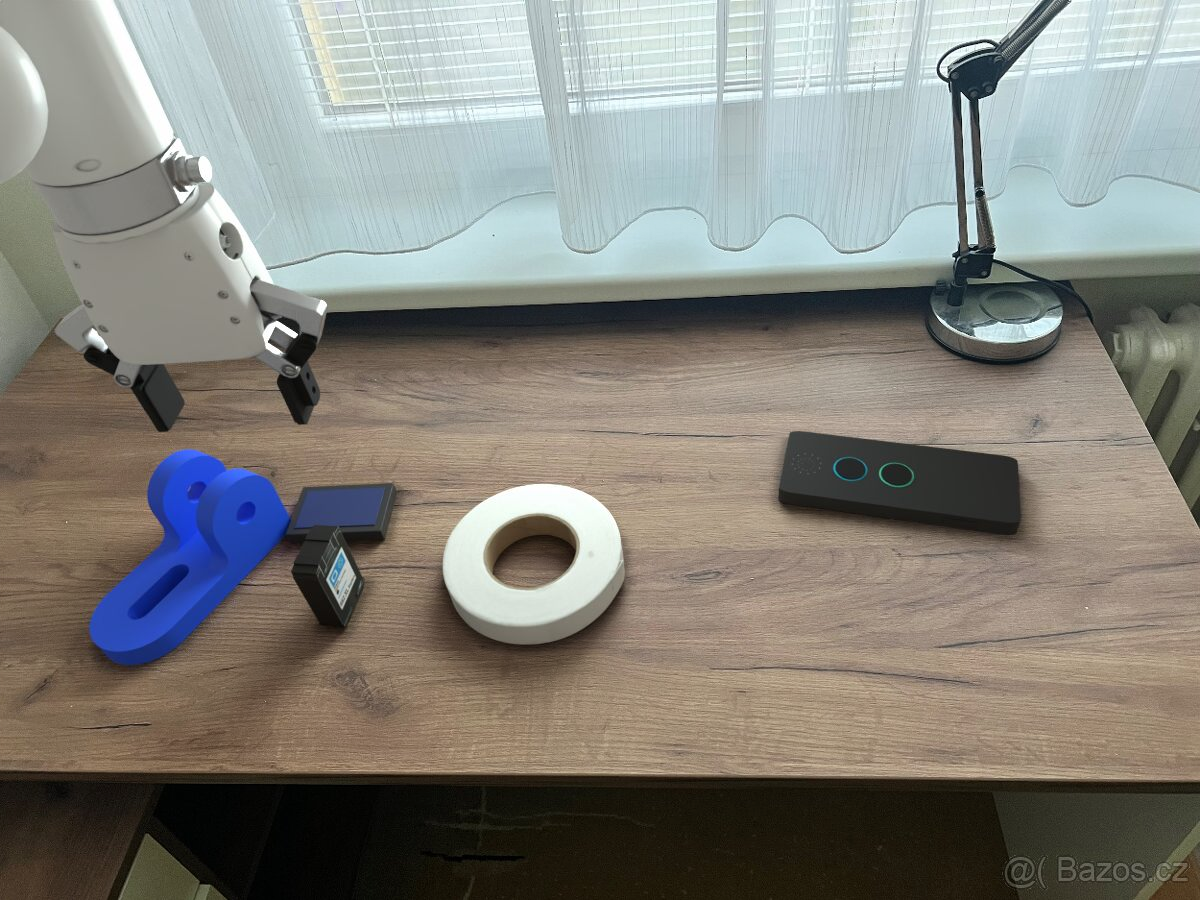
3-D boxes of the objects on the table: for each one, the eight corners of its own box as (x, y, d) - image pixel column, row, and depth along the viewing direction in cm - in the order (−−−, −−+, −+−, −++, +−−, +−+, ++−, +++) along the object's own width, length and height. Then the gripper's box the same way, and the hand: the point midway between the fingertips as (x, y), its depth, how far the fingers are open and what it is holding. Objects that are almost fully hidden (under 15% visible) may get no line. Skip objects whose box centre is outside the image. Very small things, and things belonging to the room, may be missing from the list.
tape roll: (438, 650, 71) (429, 631, 69) (459, 509, 82) (453, 488, 80) (627, 640, 70) (624, 620, 68) (624, 498, 81) (621, 477, 79)
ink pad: (290, 544, 81) (284, 533, 80) (307, 496, 85) (302, 485, 84) (384, 540, 80) (380, 530, 79) (397, 492, 84) (393, 481, 83)
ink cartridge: (346, 630, 73) (315, 572, 68) (321, 628, 74) (288, 570, 68) (367, 583, 77) (338, 524, 71) (342, 581, 77) (313, 522, 72)
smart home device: (790, 427, 83) (1017, 454, 78) (789, 440, 84) (1013, 468, 79) (777, 490, 77) (1022, 524, 72) (776, 503, 79) (1017, 538, 73)
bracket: (232, 500, 86) (193, 434, 80) (294, 526, 83) (259, 459, 76) (81, 643, 75) (22, 579, 69) (145, 679, 72) (90, 616, 66)
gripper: (290, 141, 50) (374, 372, 62) (7, 164, 51) (143, 385, 63) (248, 208, 44) (349, 447, 56) (-66, 232, 46) (97, 459, 58)
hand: (240, 414), depth 60 cm, fingers open, 9 cm apart
